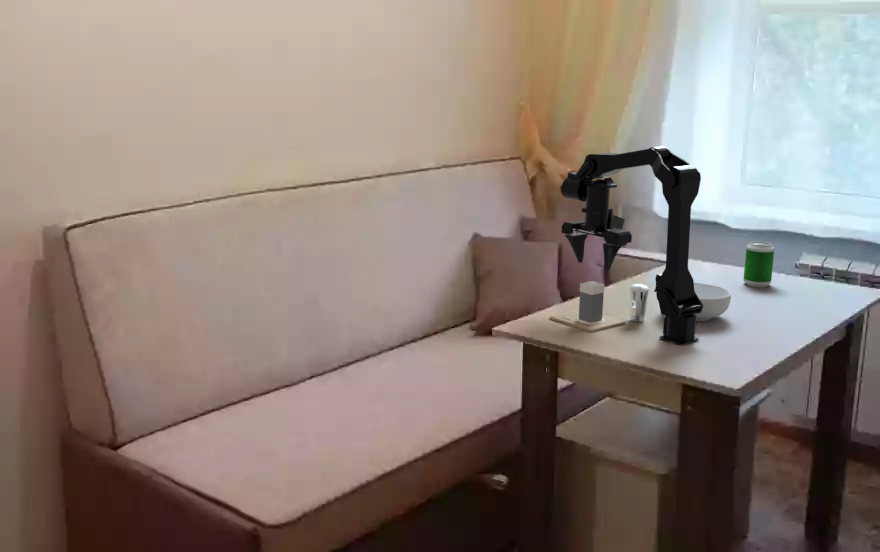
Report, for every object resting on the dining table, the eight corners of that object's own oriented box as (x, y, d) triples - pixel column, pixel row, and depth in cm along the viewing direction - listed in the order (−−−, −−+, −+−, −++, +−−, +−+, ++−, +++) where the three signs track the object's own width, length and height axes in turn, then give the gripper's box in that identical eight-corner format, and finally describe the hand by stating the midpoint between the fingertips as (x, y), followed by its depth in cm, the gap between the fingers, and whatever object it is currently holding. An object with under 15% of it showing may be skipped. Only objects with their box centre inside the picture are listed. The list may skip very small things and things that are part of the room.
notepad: (625, 323, 234) (625, 321, 233) (591, 332, 226) (591, 329, 226) (583, 311, 244) (583, 308, 244) (549, 318, 237) (549, 316, 237)
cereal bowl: (708, 330, 229) (711, 302, 227) (647, 317, 240) (649, 289, 238) (740, 316, 241) (743, 289, 240) (681, 304, 252) (683, 278, 250)
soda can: (774, 288, 270) (778, 246, 267) (747, 287, 270) (751, 246, 267) (765, 281, 277) (769, 241, 275) (739, 281, 277) (743, 240, 275)
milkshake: (650, 323, 234) (652, 283, 232) (627, 322, 235) (630, 282, 233) (650, 318, 238) (652, 279, 236) (628, 317, 239) (630, 278, 237)
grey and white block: (602, 320, 234) (604, 284, 232) (590, 323, 231) (592, 286, 229) (589, 316, 237) (591, 281, 235) (578, 319, 235) (580, 283, 232)
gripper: (648, 206, 235) (644, 268, 238) (591, 196, 249) (588, 255, 252) (617, 210, 228) (614, 274, 231) (561, 200, 242) (558, 260, 246)
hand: (594, 266), depth 240 cm, fingers open, 9 cm apart
